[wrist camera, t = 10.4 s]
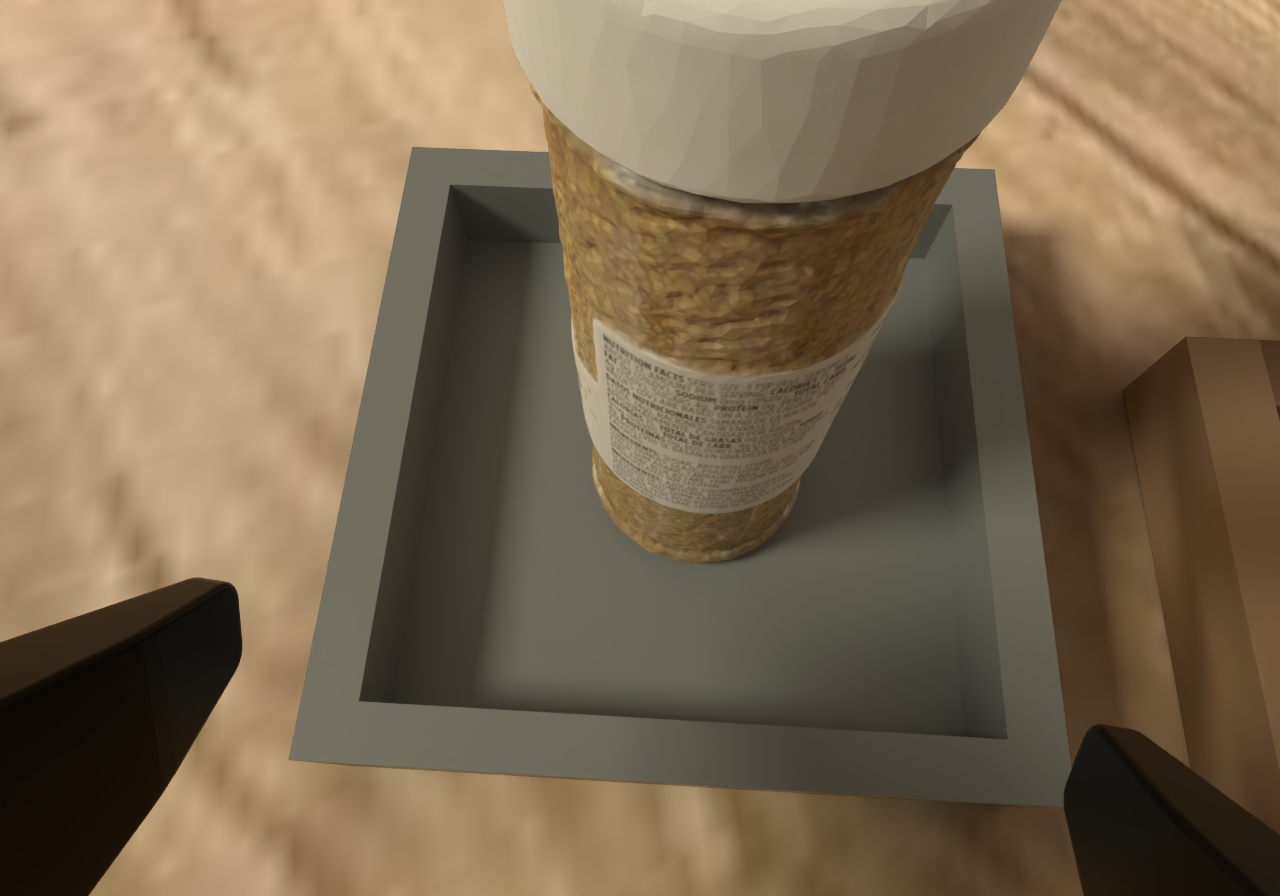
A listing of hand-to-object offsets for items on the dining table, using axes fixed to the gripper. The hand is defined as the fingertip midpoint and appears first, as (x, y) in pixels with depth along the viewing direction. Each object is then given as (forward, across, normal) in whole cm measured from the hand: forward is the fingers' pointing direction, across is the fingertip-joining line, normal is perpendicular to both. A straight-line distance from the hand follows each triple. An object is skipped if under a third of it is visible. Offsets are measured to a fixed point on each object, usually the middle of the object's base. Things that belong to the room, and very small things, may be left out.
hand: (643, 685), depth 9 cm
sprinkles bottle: (+10, 0, +2) cm, 10 cm away
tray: (+10, 0, +2) cm, 11 cm away
